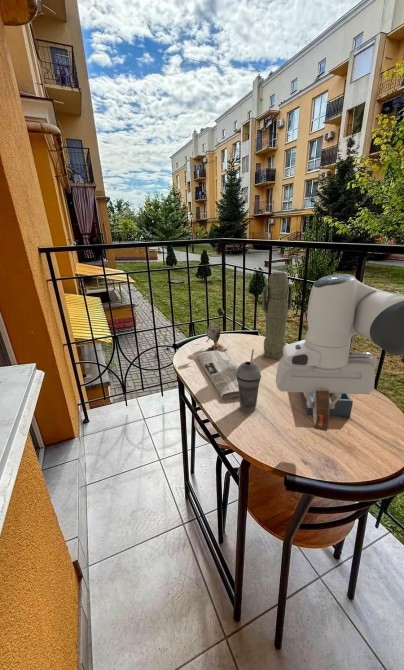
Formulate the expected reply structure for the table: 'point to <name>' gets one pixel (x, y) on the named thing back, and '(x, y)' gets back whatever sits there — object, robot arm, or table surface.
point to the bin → (340, 409)
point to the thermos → (276, 314)
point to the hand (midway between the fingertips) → (320, 406)
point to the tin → (321, 410)
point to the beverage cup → (248, 385)
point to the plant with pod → (215, 333)
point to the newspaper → (220, 372)
